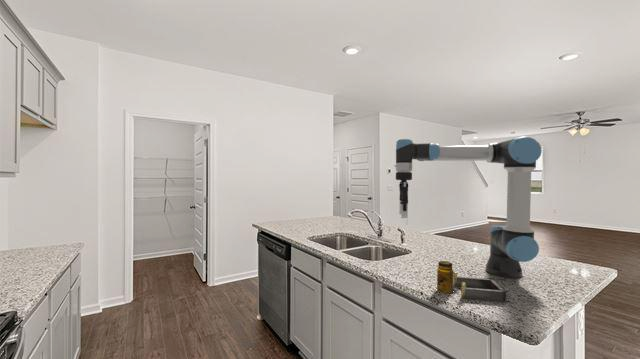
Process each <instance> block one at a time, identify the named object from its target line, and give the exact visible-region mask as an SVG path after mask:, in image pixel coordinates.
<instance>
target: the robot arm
mask: <svg viewBox="0 0 640 359" xmlns="http://www.w3.org/2000/svg"><path fill="white" fill-rule="evenodd" d="M542 152H543V151H542V146H541V144H540V142H538V140H537V139H535V138H533V137H530V136H520V137H519V136H518V137H517V136H516V137H515V138H512V139H508V140H505V141H504V140H503V141H500V142H490V143H489V142H488V143H487V144H486V145H485V144H484V145H482V144H481V145H478V144H477V145H476V144H475V145H472V144H471V145H440V144H439V143H433V142H429V143H428V142H427V143H414V142H413V139H412V138H411V139H410V138H409V139H408V138H404V139H403V138H401V139H397V141H396V144H395V165H394V167H395V171H396V173H395V180H396V181H400V182H399V184H398V186H399V187H398V188H399V212H398V214H399V215H400V216H401V217H400V218H401V219H408V218H409V216H408V213H409V212H408V211H409V210H408V206H409V183H408V181H412V180H413V160H417V161H419V162H425V161H427V162H429V161H433V162H434V161H436V162H437V161H441V162H442V161H444V162H445V161H449V162H450V161H451V162H452V161H456V162H457V161H460V162H461V161H465V162H466V161H467V162H469V161H481V162H482V161H486V162H487V163H488V164H489V163H492V164H493V163H494V164H503V169H504V170H505V171H507V190H506V192H507V193H506V195H507V196H506V197H507V198H506V224H505V225H492V226H491V228H490V231H489V232H490V238H489V239H490V244H489V246H490V247H489V249H490V250H489V256H488V260H487V262H486V263H485V271H486V272H488V273H490V274H492V275H495V276H498V277H504V278H511V279H513V278H514V279H517V278H521V277H523V269H522V266H521V264H520V263H527V262H528V263H529V262H531V261H532V260H533V259H535V258H536V257H538V254H539V251H540V247H539V244H538V242H537V241H536V240H535V230H534V229H533V228H532V227H531V198H532V195H531V194H532V171H534V170H535V169H536V168H537V167H536V166H537V161H538V159H540V157H541V156H542Z"/></svg>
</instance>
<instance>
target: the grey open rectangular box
mask: <svg viewBox="0 0 640 359" xmlns="http://www.w3.org/2000/svg"><path fill="white" fill-rule="evenodd" d="M454 287H455V288H460V299H462V300H473V301H481V302H482V301H483V302H484V301H485V302H496V303H507V291H505V290H504V288H502V287H501V286H500V285H499V284H498V283H497V282H496V281H495V280H494V279H492V278H479V277H468V276H466V277H465V276H458V272H457V271H453V288H454Z"/></svg>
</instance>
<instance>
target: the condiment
mask: <svg viewBox="0 0 640 359" xmlns="http://www.w3.org/2000/svg"><path fill="white" fill-rule="evenodd" d="M436 270H437V271H436V273H437V274H436V275H437V276H436V282H437V283H436V289H437V291H438V292H436V291H434V290H433V292H435V293H439V292H440V293H439V294H442V293H443V294H442V295H447V296H450V297H454V295H455V294H456V292H458V290H459V289H457V288H454V286H453V272H454V270H453V263H452V262H450V261H447V260H440V261H438V266H437V269H436ZM453 291H454V292H453Z"/></svg>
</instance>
